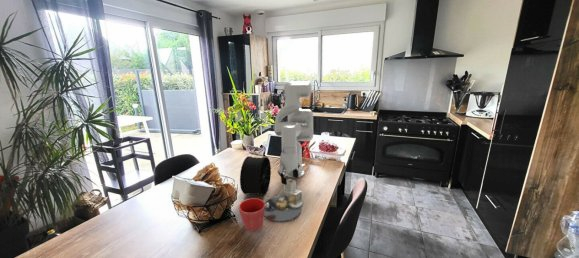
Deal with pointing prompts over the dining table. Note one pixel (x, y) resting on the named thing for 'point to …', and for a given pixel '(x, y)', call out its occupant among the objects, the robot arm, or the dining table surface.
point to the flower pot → (252, 213)
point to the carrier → (284, 207)
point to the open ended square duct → (289, 186)
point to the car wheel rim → (255, 175)
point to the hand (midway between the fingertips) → (289, 180)
